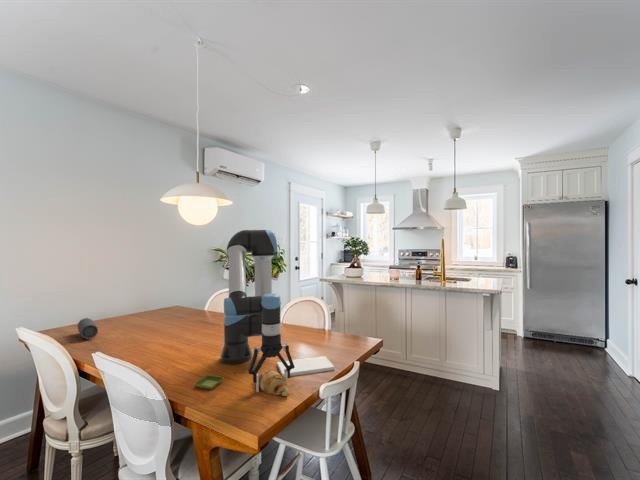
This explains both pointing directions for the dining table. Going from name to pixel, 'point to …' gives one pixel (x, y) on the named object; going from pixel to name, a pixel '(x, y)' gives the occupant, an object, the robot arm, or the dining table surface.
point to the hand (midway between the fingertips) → (271, 388)
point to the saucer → (209, 382)
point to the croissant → (273, 383)
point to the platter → (307, 366)
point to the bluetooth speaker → (87, 328)
